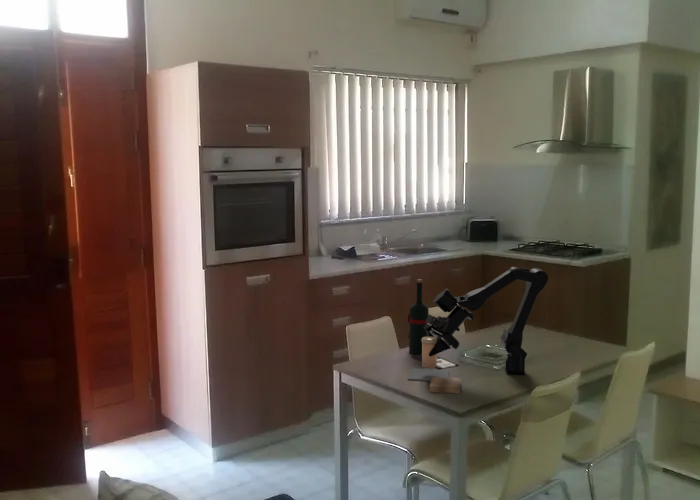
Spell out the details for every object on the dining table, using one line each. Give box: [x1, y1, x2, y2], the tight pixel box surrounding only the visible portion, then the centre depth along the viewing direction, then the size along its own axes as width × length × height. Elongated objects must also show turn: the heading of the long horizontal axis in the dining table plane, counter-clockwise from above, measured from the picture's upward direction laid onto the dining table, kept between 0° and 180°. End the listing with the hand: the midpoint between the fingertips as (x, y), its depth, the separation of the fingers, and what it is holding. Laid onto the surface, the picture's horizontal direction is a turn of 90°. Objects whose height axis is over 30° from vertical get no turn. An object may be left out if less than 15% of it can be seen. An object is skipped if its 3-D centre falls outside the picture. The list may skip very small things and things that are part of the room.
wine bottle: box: [407, 278, 430, 356], centre depth 272 cm, size 8×10×30 cm
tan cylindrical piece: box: [421, 337, 438, 369], centre depth 242 cm, size 6×6×10 cm
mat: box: [407, 368, 450, 382], centre depth 243 cm, size 14×12×1 cm
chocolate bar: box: [411, 354, 459, 370], centre depth 260 cm, size 9×1×18 cm
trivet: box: [429, 377, 462, 394], centre depth 230 cm, size 10×10×2 cm
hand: (425, 353), depth 241 cm, fingers closed on tan cylindrical piece, 5 cm apart
